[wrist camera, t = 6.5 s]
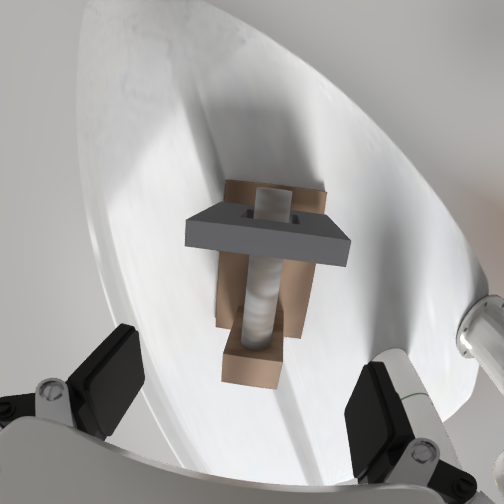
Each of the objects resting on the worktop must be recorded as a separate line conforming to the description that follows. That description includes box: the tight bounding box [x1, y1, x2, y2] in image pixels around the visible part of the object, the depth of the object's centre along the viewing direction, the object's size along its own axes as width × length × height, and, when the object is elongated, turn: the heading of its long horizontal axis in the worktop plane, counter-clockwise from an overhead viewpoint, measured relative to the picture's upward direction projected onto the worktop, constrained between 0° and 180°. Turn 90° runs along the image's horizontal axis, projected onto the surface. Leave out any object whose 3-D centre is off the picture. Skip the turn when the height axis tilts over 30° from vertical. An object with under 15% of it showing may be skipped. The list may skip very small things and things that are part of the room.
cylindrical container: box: [372, 348, 463, 471], centre depth 27 cm, size 7×7×25 cm
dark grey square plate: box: [185, 202, 351, 267], centre depth 26 cm, size 12×2×12 cm, turn 84°
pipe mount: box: [216, 180, 327, 389], centre depth 30 cm, size 12×20×12 cm, turn 174°
